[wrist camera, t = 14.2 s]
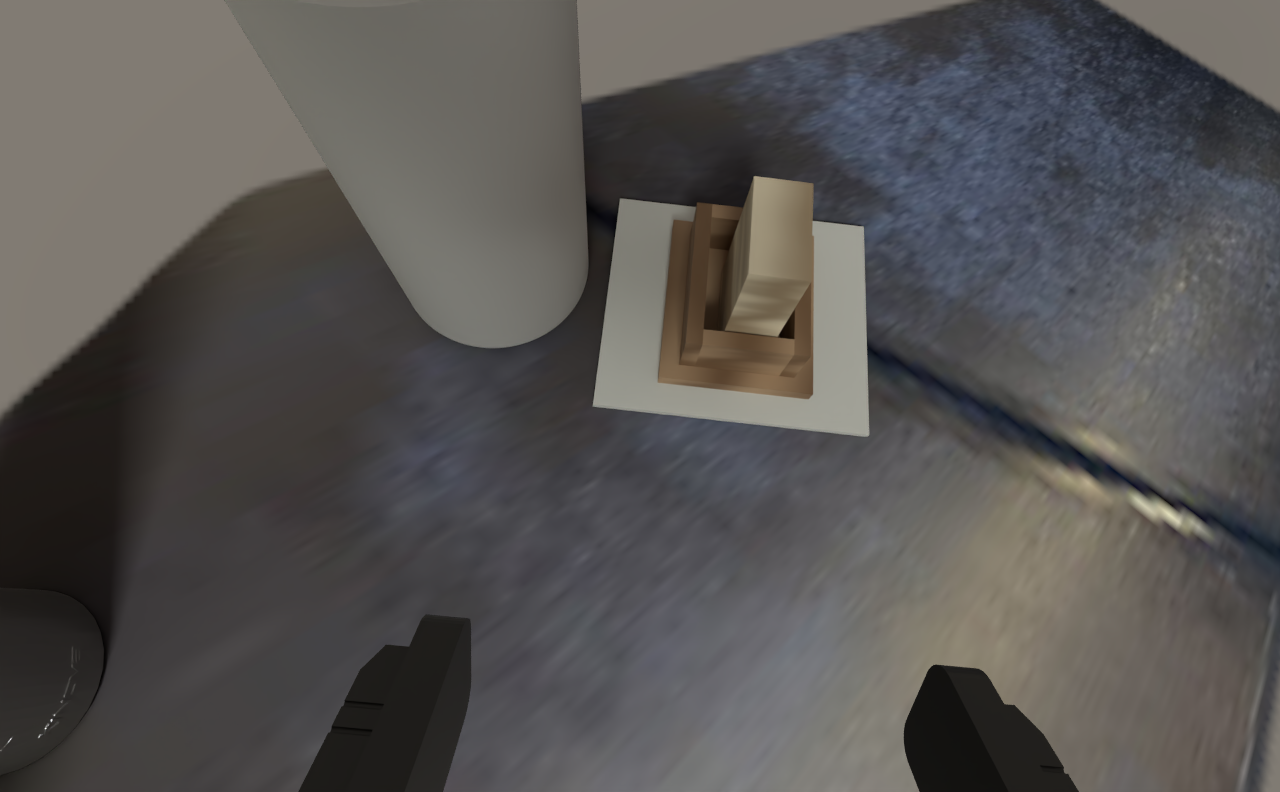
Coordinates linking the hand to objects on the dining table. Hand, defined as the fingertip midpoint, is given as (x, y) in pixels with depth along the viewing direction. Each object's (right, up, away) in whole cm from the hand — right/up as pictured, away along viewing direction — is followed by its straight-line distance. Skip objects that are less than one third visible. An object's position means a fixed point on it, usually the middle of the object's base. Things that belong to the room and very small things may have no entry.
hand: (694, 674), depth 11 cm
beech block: (+6, +10, +31) cm, 33 cm away
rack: (+6, +11, +32) cm, 34 cm away
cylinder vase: (-11, +14, +33) cm, 37 cm away
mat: (+6, +11, +33) cm, 35 cm away
